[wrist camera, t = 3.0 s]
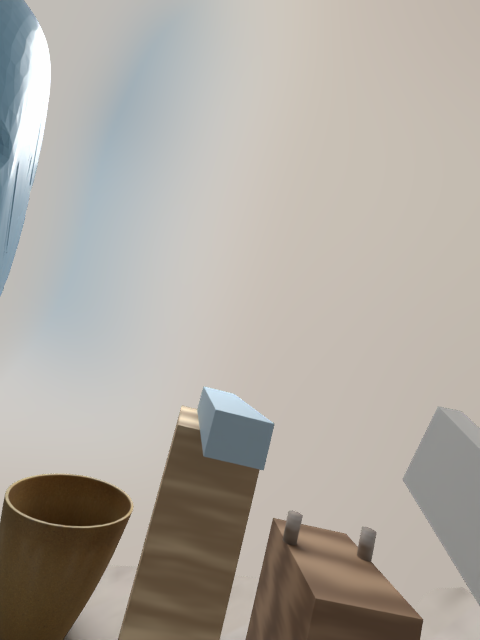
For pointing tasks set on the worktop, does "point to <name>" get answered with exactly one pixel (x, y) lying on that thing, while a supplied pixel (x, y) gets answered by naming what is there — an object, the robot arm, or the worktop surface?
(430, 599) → the worktop surface
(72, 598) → the plant pot
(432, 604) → the worktop surface
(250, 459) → the blue-grey block
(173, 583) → the stand
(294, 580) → the wooden block with pegs
